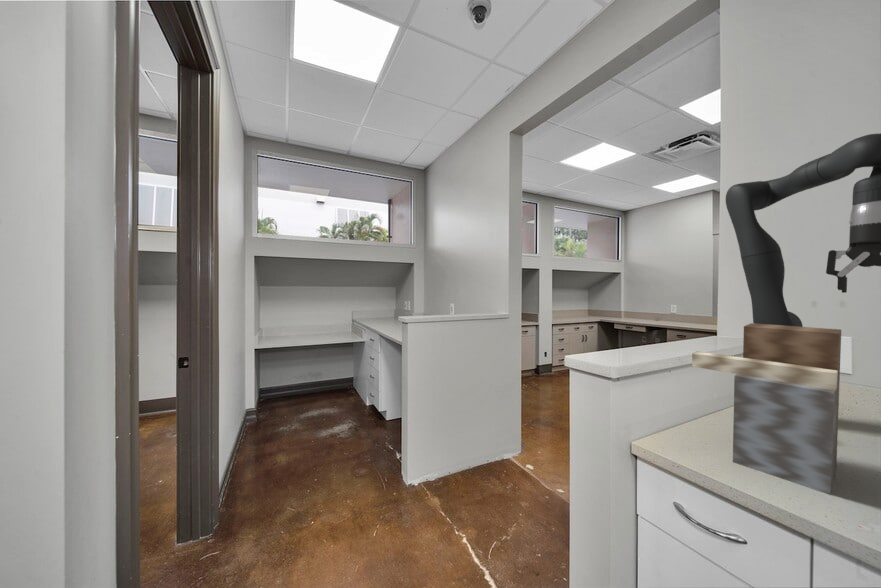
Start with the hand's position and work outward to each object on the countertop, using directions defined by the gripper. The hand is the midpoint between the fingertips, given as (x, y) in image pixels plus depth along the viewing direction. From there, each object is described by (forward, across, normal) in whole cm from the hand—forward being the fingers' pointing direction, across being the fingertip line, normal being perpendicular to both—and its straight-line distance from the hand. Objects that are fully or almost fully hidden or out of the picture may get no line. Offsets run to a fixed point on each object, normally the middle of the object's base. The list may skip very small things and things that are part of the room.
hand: (873, 292), depth 75 cm
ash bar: (+19, +16, +21) cm, 33 cm away
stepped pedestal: (+40, +12, +17) cm, 45 cm away
